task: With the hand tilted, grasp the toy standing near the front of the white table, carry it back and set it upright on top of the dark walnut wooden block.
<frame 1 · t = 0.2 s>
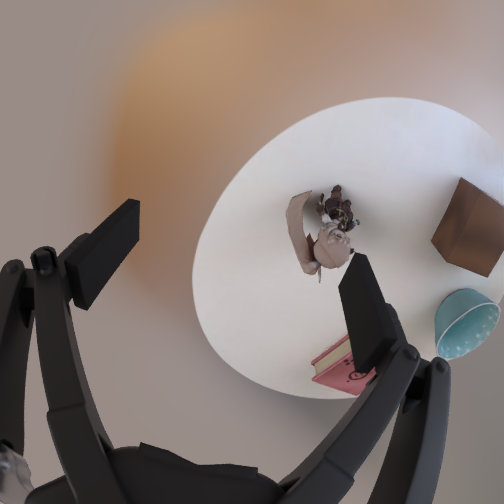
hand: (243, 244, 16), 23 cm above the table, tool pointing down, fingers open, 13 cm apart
bowl: (454, 305, 46), on the table
toy: (319, 209, 39), on the table
book: (357, 355, 55), on the table
walnut block: (468, 221, 36), on the table
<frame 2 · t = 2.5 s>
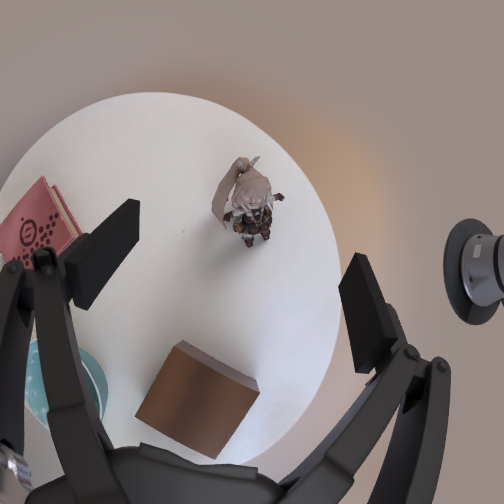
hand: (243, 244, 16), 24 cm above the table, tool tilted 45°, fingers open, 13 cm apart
bowl: (82, 380, 35), on the table
toy: (246, 217, 41), on the table
book: (43, 242, 38), on the table
walnut block: (199, 393, 36), on the table
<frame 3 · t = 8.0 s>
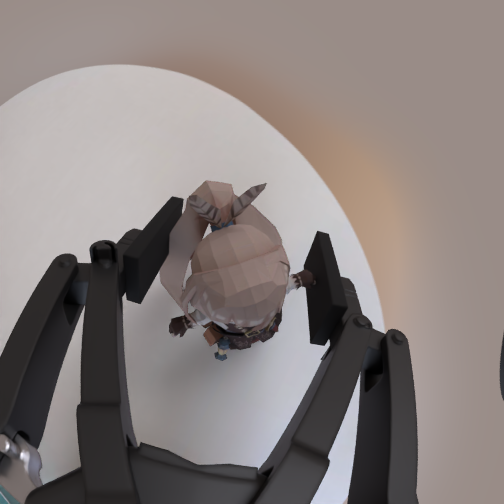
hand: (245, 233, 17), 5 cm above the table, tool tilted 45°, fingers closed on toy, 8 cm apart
bowl: (13, 471, 14), on the table
toy: (231, 290, 22), on the table, touching gripper
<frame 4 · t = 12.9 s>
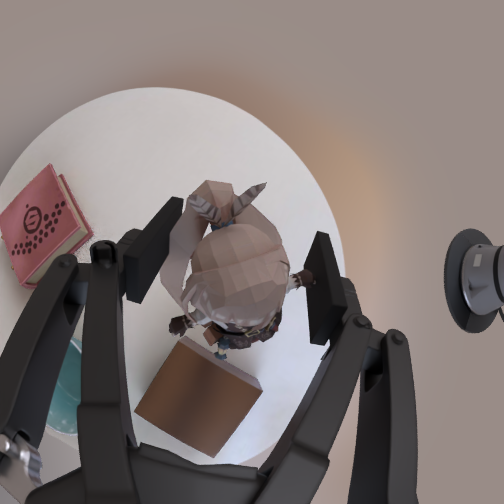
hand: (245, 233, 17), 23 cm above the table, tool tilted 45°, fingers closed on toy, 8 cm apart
bowl: (79, 372, 34), on the table
toy: (231, 290, 22), point 18 cm above the table, touching gripper
book: (47, 231, 38), on the table
walnut block: (200, 391, 36), on the table
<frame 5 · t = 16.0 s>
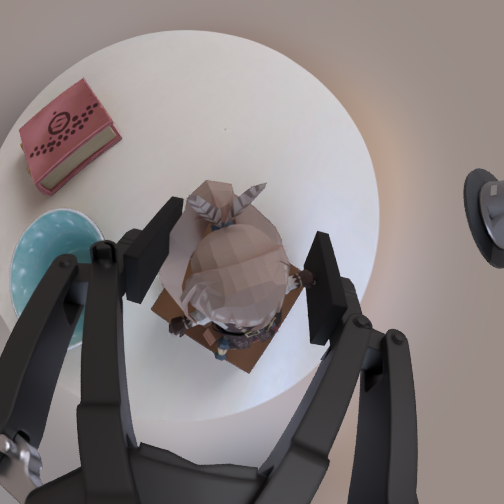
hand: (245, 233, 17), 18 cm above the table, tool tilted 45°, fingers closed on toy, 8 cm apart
bowl: (85, 284, 32), on the table
toy: (231, 290, 22), point 12 cm above the table, touching gripper
book: (69, 142, 36), on the table
walnut block: (230, 296, 34), on the table
when the fingers open (11 cm above the table, at t = 18.3 s): toy stays where it is, resting on walnut block.
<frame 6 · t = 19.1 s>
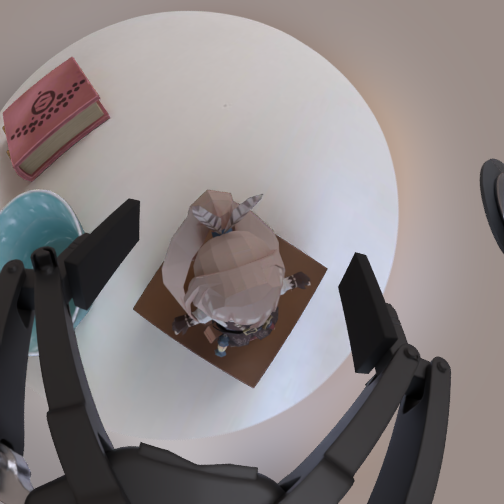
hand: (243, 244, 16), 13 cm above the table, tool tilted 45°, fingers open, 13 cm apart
bowl: (63, 279, 27), on the table
toy: (230, 290, 23), point 6 cm above the table, touching walnut block
book: (54, 124, 31), on the table
walnut block: (230, 293, 28), on the table
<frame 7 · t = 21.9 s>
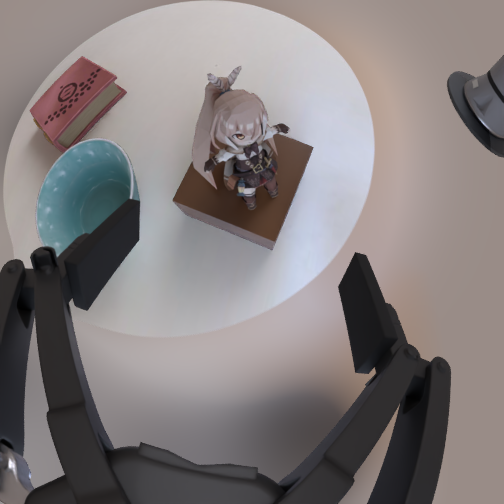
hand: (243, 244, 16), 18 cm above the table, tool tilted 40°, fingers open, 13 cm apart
bowl: (109, 214, 36), on the table
toy: (243, 172, 30), point 6 cm above the table, touching walnut block
book: (79, 109, 39), on the table
walnut block: (246, 189, 36), on the table
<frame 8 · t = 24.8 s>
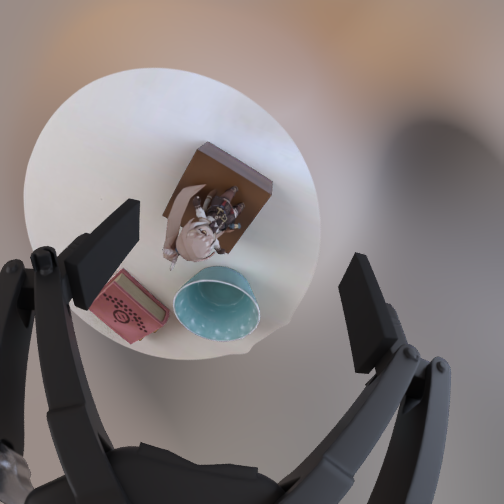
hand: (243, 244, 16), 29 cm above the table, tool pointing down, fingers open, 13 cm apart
bowl: (223, 284, 56), on the table
toy: (213, 204, 40), point 6 cm above the table, touching walnut block
book: (132, 302, 61), on the table
walnut block: (221, 190, 45), on the table
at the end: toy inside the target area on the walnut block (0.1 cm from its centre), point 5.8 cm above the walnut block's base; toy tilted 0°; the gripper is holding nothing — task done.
